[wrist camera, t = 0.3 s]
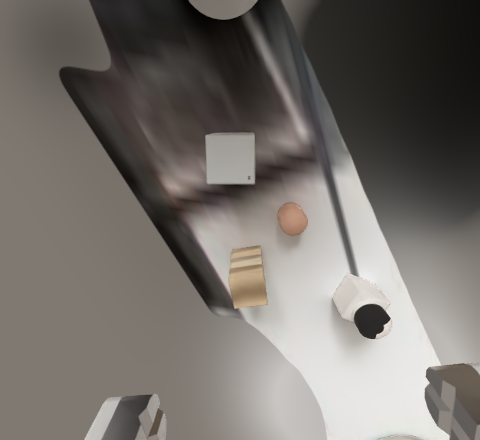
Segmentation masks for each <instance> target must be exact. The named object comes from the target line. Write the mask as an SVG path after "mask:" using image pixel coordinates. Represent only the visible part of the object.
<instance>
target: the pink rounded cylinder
mask: <svg viewBox="0 0 480 440" xmlns="http://www.w3.org/2000/svg"><path fill="white" fill-rule="evenodd" d="M278 219H279V222H280V225H281V228H282V230H283V231H284V232H285V233H286V234H288V235H298V234H300V233H302V232H303V231H304V230H305V229H306V227H307V223H308V221H307V217H306V215H305V214H304V212H303V211H302V209H301V208H300V206H299V205H297V204H295V203H286V204H284V205H283V206H281V208H280V209H279V211H278Z"/></svg>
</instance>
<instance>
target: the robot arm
mask: <svg viewBox="0 0 480 440" xmlns="http://www.w3.org/2000/svg"><path fill="white" fill-rule="evenodd" d="M257 1H258V0H189V2H190V3H191V4H192V5H193V6H194V7H195V8H196V9H197V10H198V11H200V12H201V13H203V14H204V15H206V16H208V17H211V18H214V19H221V20H225V19H232V18H235V17H238V16H240V15H242V14H244V13H245V12H247V11H248V10H249V9H251V8H252V7H253V6H254V5H255V3H256V2H257ZM426 378H427V379H428V381H429V382H430V383H429V385H428V386H427V387H426V388H425V400H426V404H427V407H428V410H429V412H430V414H431V416H432V418H433V419H434V421H435V423H436V424H437V426H438V427H439V428H441V429H442V430H443V431H445V432H446V433H447V434H449V435H450V437H449V440H480V362H477V363H468V364H464V363H462V364H453V365H444V366H435V367H429V368H428V369H427V370H426ZM159 403H160V401H159V398H158V396H157V394H153V395H137V396H122V397H110V398H108V399H107V400H106V401H105V402H104V403H103V405H102V407H101V409H100V411H99V413H98V415H97V417H96V419H95V421H94V422H93V424H92V426H91V428H90V430H89V432H88V434H87V436H86V438H85V440H165V437H166V426H167V425H166V417H165V415H164V412H163V411H162V410H160V409H159V408H158V406H159Z"/></svg>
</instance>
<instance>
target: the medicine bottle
mask: <svg viewBox="0 0 480 440" xmlns="http://www.w3.org/2000/svg"><path fill="white" fill-rule="evenodd" d="M332 299H333V301H334V303H335V305H336V307H337V309H338V311H339V313H340V315H341V317H342V318H343V319H345V320H348V321H351V322H353V323H355V324H356V326H357V328H358V330H359V332H360V333H361V334H362V335H363V336H364V337H366V338H370V339H378V338H382V337H384V336H385V335H387V334H388V333H389V331H390V330H391V327H392V320H391V318H390V317H389V316H388V314H387V313H386V311H385V310H386V309H387V308H388V306H389V305H390V302H389V301H388V299H387V298H386V297H385V296H384V294H383V293H382V292H381V290H380V289H379V288H378V287H377V285H376V284H375V283H372V282H370V281H367V280H365V279H362V278H360V277H357V276H355V275H352V274H350V273H347V274H346V276H345V277H344V279H343V280H342V282H341V284H340V285H339V287H338V288H337V290H336V291H335V293H334V295H333V296H332Z"/></svg>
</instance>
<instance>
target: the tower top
mask: <svg viewBox="0 0 480 440" xmlns="http://www.w3.org/2000/svg"><path fill="white" fill-rule="evenodd" d="M229 285H230V290H231V294H232V299H233V304H234V309H235V308H243V307H251V306H259V305H267V294H266V287H265V281H264V275H263V268H262V264H258V265H251V266H243V267H236V268H230V272H229Z"/></svg>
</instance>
